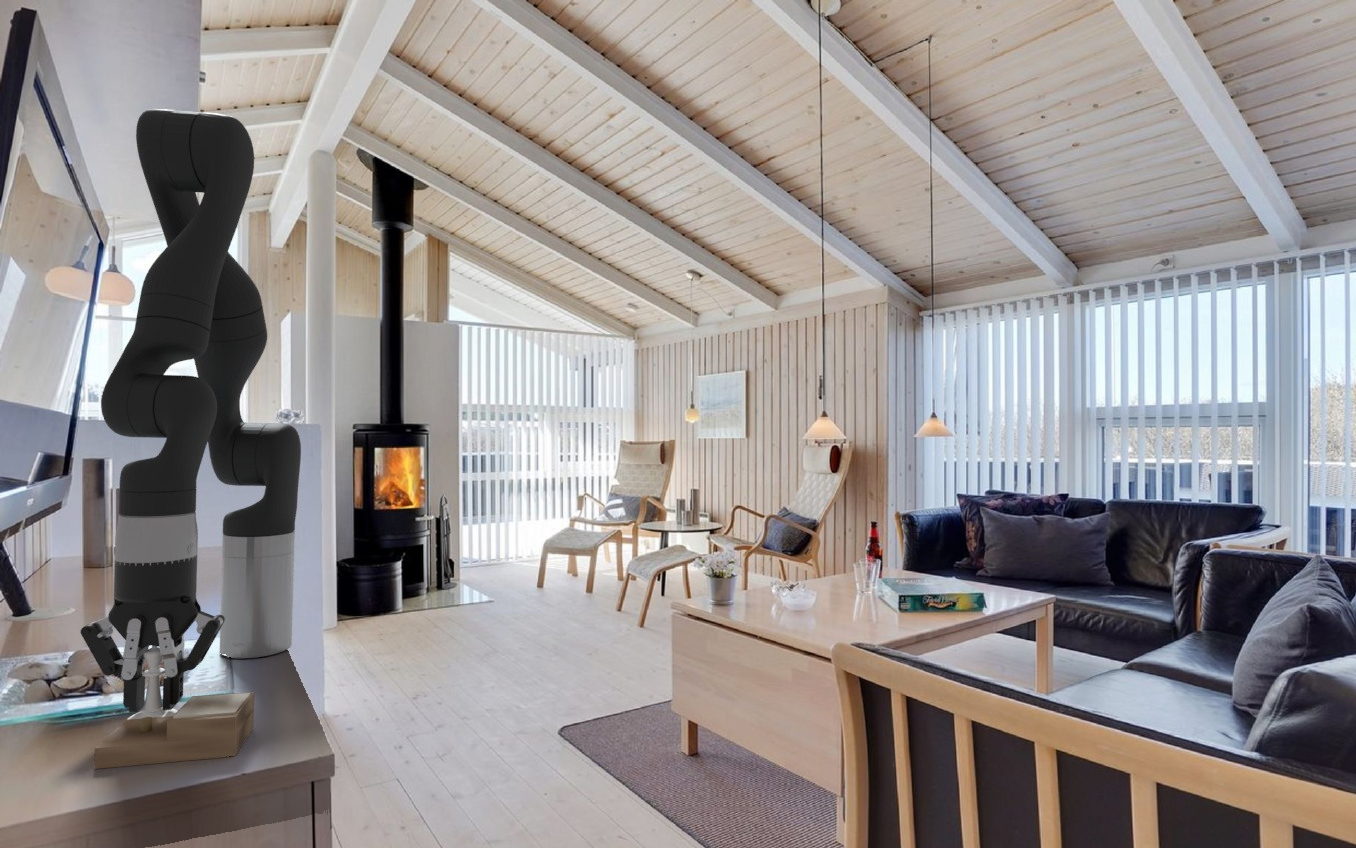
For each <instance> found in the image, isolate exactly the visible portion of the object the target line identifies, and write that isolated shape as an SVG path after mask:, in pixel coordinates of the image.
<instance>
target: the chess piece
mask: <svg viewBox="0 0 1356 848" xmlns="http://www.w3.org/2000/svg"><path fill="white" fill-rule="evenodd" d="M143 654H144V657H145V662H146V665H147V667H148V668H147V669H145V670H144V671H142V676H144V677H145V678H148V679H147V681H148V682H147V687H146V688H147V689H146V692H145V703H144V707H143V708H142V709H141V710H140V711H139V712H137V713H134V714H133V715H131V716H129V717H127V719H126V720H129V719H142V718H145V717H152V718H155V717H169V716H174V715H175V714H176V712H177V711H178V710H177V709H175V708H174V707H173V708H172V709H171V710H163V698H162V692H161V684H160V682H161V681H160V676H162V675H164V674H165V669H164V668H163V667H160V666H161V664H162V662H163V658H162V657H161V654H160V647H158V646H153V645H151V648H148V650H146V651H144V653H143Z"/></svg>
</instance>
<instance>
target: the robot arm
mask: <svg viewBox="0 0 1356 848" xmlns="http://www.w3.org/2000/svg"><path fill="white" fill-rule="evenodd" d="M135 132H136V134H135V138H136V140H135V141H136V148H137V153H138V154H137V155H138V159H139V162H140V163H139V164H140V166H141V170H142V172H143V175H144V179H145V183H146V185H147V188H148V191H149V194H150V197H151V200H152V203H153V207H154V209H155V212H156V215H157V217H158V220H159V221H158V222H159V223H160V228H161V229H162V233H163V235H164V239H165V242H166V248H165V249H164V250H163V251H162V252H161V253H160V254H159V255H158V256H157V258H156V259H155V261H153V262H152V265H150V268H149V269H148V271H147V273H146V275H145V277H144V280H143V283H142V287H141V291H140V296H139V301H138V308H137V313H136V320H135V325H134V330H133V333H132V335H131V337H130V339H129V340H128V342H127V344H126V346H125V348H124V350H123V351H122V353H121V355H120V357H119V359H118V361H117V362H116V364H115V366H114V368H113V369H112V371H111V373H110V375H109V377H108V379H107V380H106V383H105V385H104V387H103V391H102V395H101V398H100V399H101V401H100V408H101V415H102V418H103V420H104V422H105V423H106V425H107V427H108V428H109V429H110V430H111V431H112V432H113V433H114V434H115V433H116V434H117V435H119V436H122V437H127V438H159V439H162V438H163V439H166V440H165V442H164V445H163V446H162V448H161V450H160V452H159V453H158V454H157V456H154V457H150V458H144V459H137V460H134V461H133V460H132V461H130V462H128V463H126V464H125V465H124V466H123V467H122V469H121V471H120V474H119V475H120V477H119V487H118V488H119V489H118V490H119V495H118V496H119V499H118V502H119V503H118V514H119V515H118V520H117V526H116V530H115V531H116V532H115V539H114V545H113V556H114V569H113V570H114V574H113V577H114V578H113V606H112V607H111V609H110V610H109V612H108V615H107V616H106V617H104V618H101V619H96V620H94V621H92V622H89V623H88V624H86V625H84V626H83V627H82V628H81V629H80V634H81V637H82V638H83V641H84V643H85V644H86V646H87V648H88V649H89V651H90V652H91V654H92V656H93V658H94V660H95V661H96V663H97V665H98V667H99V668H100V670H101V672H102V674H104V675H105V676H112V675H113V676H114V675H115V676H118V677H120V678H122V680H123V692H122V693H123V694H122V696H123V697H122V698H123V700H122V702H123V703H122V704H123V706H124V708H126V709H127V708H128V713H129V714H133V713H134V714H136V713H139V712H141V711H140V710H141V709H142V708H143V707H144V704H145V698H146V677H144V676H142V674H143V670H144V665H145V662H146V659H145V657H144V654H143V653H144V651H146V650H148V649H150V648H149V647H150V646H152V645H153V646H157V647H159V648H160V654H161V657H162V658H163V659H162V662H163V667H164V669H165V673H164V674H165V676H164V677H163V682H162V684H163V685H162V704H163V710H171V709H172V708H173V709H174V708H175V707H176V706H177V704H178V703H179V702H180V701H181V700H182V699H183V696H184V677H185V676H184V673H186V672H188V671H192V670H194V669H195V668H196V667H198V666H199V665H200V664H201V663H202V662H204V659H205V657H206V655H207V653H208V652H209V650H210V648H211V646H212V644H213V643H214V641H215V640H216V637H217V636H218V634H219V654H220V653H221V654H226V655H227V656H229V657H231V659H253V658H260V657H266V656H267V657H268V656H272V655H276V654H279V653H282V652H285V651H287V650H288V649H290V648H291V647H292V645H293V644H292V642H293V641H292V640H293V619H294V618H293V614H294V612H293V611H294V609H293V608H294V580H295V579H294V575H295V574H294V573H295V535H296V534H295V533H296V531H295V529H296V517H297V510H298V496H299V494H298V493H299V492H298V491H299V481H300V472H301V471H300V470H301V469H300V468H301V459H302V458H301V456H302V447H301V444H302V443H301V438H300V435H299V432H298V430H297V429H296V428H295V427H294V426H293V425H291V424H287V423H271V422H270V423H267V422H265V423H263V422H245V421H244V420H243V419H242V415H241V409H240V408H241V407H240V406H241V405H240V403H241V402H240V401H241V396H242V392H243V390H244V388H245V385H246V383H247V381H248V380H249V378H250V376H251V374H252V373H253V371H254V370H255V368H256V366H257V365H258V363H259V362H260V360H261V357H262V355H263V353H264V351H265V349H266V346H267V342H268V330H267V324H266V318H265V312H264V305H263V302H262V298H261V297H262V296H261V295H260V291H259V289H258V287H257V285H256V284H255V282H254V281H253V279H252V278H251V277H250V275H249V274H248V273H247V272H246V270H245V269H244V268H243V267H242V266H241V265H240V264H239V263H238V261H237V260H236V259H235V258H234V257H233V255H232V254H230V252H229V250H230V246H231V244H232V242H233V239H234V236H235V233H236V230H237V228H238V224H239V221H240V219H241V216H242V213H243V209H244V207H245V203H246V201H247V197H248V195H249V192H250V188H251V184H252V180H253V175H254V172H255V171H254V169H255V152H254V146H253V141H252V139H251V136H250V134H249V132H248V130H247V129H246V126H244V124H243V123H242V122H241V121H240V120H239V119H238V118H236V117H234V116H231V115H227V114H224V113H223V114H221V113H216V112H214V113H213V112H204V111H203V112H199V111H190V110H189V111H187V110H178V109H166V108H165V109H163V108H149V109H146V110H145V111H143V112H142V113H141V114H140V116H139V117H138V120H137V123H136V131H135ZM197 193H201V194H203V196H202V199H201V202H200V203H199V200H198V196H197ZM190 360H194V365H195V369H196V374H197V376H193V375H180V374H179V375H175V374H174V375H173V374H165V373H166V372H167V371H168V369H169V368H170V367H171V366H172V365H175V364H176V363H180V362H183V361H184V362H185V361H190ZM207 445H208V452H209V458H210V463H211V467H212V470H213V473H214V474H215V476H216V478H217V479H218V480H219V481H220V482H221V483H223V485H228V486H236V487H239V486H240V487H243V486H244V487H246V486H247V487H248V486H249V487H250V486H252V487H258V486H259V487H265V489H264V494H263V497H262V498H261V499H259V500H258V501H256V502H255V503H253V504H251V505H249V506H246V507H244V508H240V509H236V510H233V511H230V512H228V513H226V514H225V515H224V517H223V520H222V539H221V540H222V546H221V547H222V549H221V554H222V555H221V584H220V585H221V587H220V593H221V594H220V614H216V615H212V614H210V613H207V612H204V611H201V610H202V609H201V605H200V604H199V602H198V599H197V582H198V581H197V580H198V579H197V572H198V542H199V541H198V539H199V533H198V531H199V529H198V522H197V513H196V510H197V478H198V474H199V471H200V467H201V465H202V461H203V457H204V454H205V452H206V451H205V450H206V448H207ZM195 622H196V625H197V626H196V633H197V634H199V636H198V638H197V640H196V642H195V644H194V645H193V647H192V649H191V650H190V652H189V654H188V656H187V657H185V651H184V649H185V638H184V635H185V633H186V632H187V631H188V630H189V628H190V627H191V626H192V625H193V624H194V623H195ZM113 627H114V629H115V630H116V631H117V633H119V634H120V636H121V637H122V638H123V640H125V643H124V649H123V654H122V653H121V652H120V649H119V648H118V646H117V644H116V642H115V640H114V638H113V637H112V635H113V634H114V629H113ZM229 657H228V658H229Z"/></svg>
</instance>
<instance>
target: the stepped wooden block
mask: <svg viewBox="0 0 1356 848" xmlns="http://www.w3.org/2000/svg"><path fill="white" fill-rule="evenodd" d="M255 693H256V692H255V691H251V692H250V691H248V692H238V693H237V692H236V693H235V692H234V693H221V694H220V693H219V694H218V693H217V694H206V695H205V694H204V695H192V696H191V697H190V698H189V699H188V700H187V701H186V702H185V703H184V704H183V705H182V706H181V707H180V708H179V709H178V710H177V712H176V714H175V715H174V716H169V717H155V718H152V717H145V718H142V719H129V720H127V719H126V720H125V721H124V722H122V723H121V724H120V725H119V726H118V727H117V728H116V729H115V730H113V731H112V732H111V733H110V734H109V735H108V736H107V737H105V738H104V739H103V740H102V741H101V743H99V744H98V745H97V746H96V747H94V764H93V765H94V766H93V767H94V770H97V769H108V768H110V769H111V768H118V767H119V768H121V767H129V766H131V767H132V766H141V765H152V764H153V765H154V764H155V765H156V764H163V763H174V762H186V761H195V760H210V759H219V758H220V759H221V758H230V757H229V756H233V757H235V756H236V755H237V753H238V752H239V751H240V749H241V748H240V747H242V746H243V745H242V744H244V743H245V742H246V741H247V739H248V738H249V736H250V735H251V733H252V731H253V730H254V726H255V725H254V723H255ZM252 729H253V730H252ZM250 732H251V733H250ZM248 735H249V736H248ZM244 741H245V742H244ZM243 742H244V743H243ZM239 748H240V749H239ZM238 750H239V751H238ZM237 751H238V752H237ZM226 756H227V757H226Z"/></svg>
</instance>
